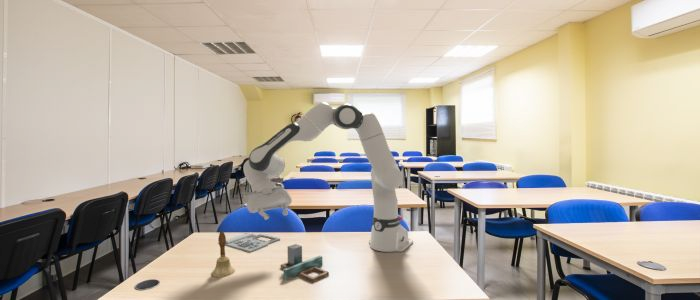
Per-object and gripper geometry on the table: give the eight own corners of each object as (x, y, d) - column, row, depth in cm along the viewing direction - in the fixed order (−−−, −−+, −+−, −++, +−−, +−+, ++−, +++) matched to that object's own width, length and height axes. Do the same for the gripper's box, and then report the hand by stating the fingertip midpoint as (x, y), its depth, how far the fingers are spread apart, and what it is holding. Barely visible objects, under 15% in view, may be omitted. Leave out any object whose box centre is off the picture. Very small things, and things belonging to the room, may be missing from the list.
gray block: (295, 264, 131) (295, 244, 130) (302, 267, 128) (301, 246, 128) (287, 267, 128) (287, 246, 127) (294, 270, 125) (293, 248, 125)
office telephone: (217, 239, 156) (250, 229, 173) (217, 244, 157) (250, 233, 173) (250, 247, 144) (282, 235, 161) (250, 253, 144) (282, 241, 161)
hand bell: (226, 278, 119) (225, 235, 118) (206, 276, 120) (205, 233, 120) (239, 268, 127) (238, 228, 126) (220, 267, 128) (219, 227, 128)
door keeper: (305, 258, 137) (305, 250, 137) (338, 270, 125) (338, 262, 124) (269, 271, 124) (269, 262, 124) (301, 287, 111) (301, 277, 111)
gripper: (244, 188, 132) (258, 216, 126) (285, 183, 147) (299, 208, 141) (239, 198, 135) (251, 225, 129) (279, 192, 151) (292, 216, 144)
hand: (277, 216), depth 135 cm, fingers open, 8 cm apart
